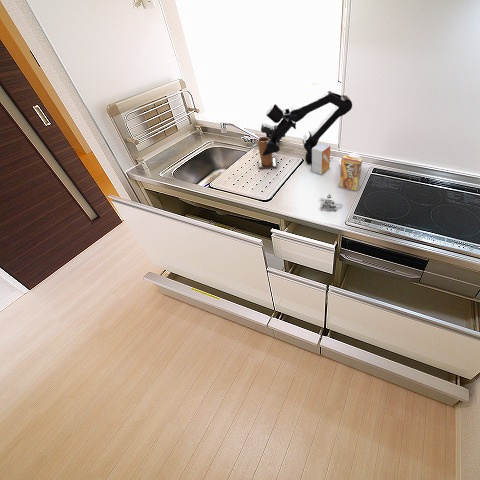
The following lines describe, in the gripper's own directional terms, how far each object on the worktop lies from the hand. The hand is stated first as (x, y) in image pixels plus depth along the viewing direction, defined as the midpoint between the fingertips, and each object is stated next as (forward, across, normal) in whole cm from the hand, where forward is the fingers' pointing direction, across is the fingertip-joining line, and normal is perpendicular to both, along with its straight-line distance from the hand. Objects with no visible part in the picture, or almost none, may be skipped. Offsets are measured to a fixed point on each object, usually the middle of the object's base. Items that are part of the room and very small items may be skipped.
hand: (262, 151), depth 137 cm
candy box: (-23, +28, +34) cm, 50 cm away
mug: (-26, +13, +37) cm, 47 cm away
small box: (-15, +10, +27) cm, 32 cm away
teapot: (-14, +41, +26) cm, 51 cm away
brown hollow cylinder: (+4, 0, +6) cm, 7 cm away
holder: (+5, 0, +7) cm, 8 cm away
